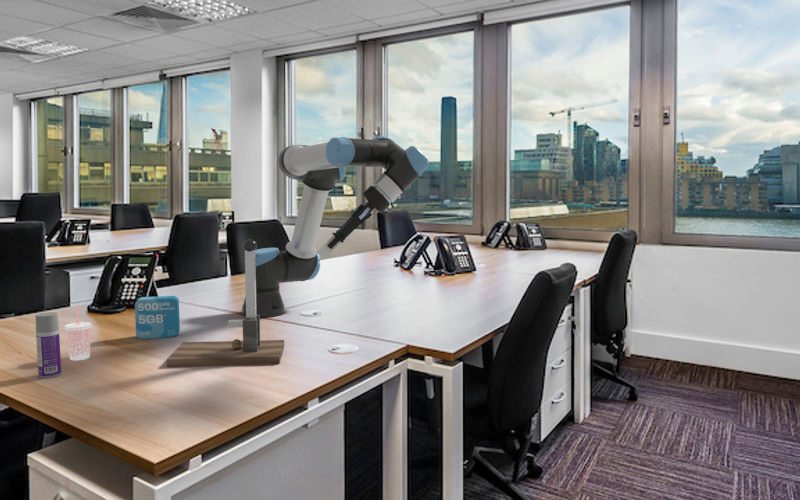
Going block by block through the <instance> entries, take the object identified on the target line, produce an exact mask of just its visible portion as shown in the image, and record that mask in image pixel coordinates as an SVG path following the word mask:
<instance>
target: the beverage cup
mask: <svg viewBox="0 0 800 500" xmlns="http://www.w3.org/2000/svg"><path fill="white" fill-rule="evenodd" d="M75 309H76V310H75V311H76V322H72V323H68V324H65V325H64V330H65V331H66V337H67V338H66V339H67V347H68V354H69V359H70V361H83V360H87V359H90V357H91V354H90V353H91V328H92V323H91V322H88V321H87V322H86V321H80V315H79V314H80V313H79V306H78V305H76V308H75Z"/></svg>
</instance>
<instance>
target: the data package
mask: <svg viewBox="0 0 800 500" xmlns="http://www.w3.org/2000/svg"><path fill="white" fill-rule="evenodd" d="M179 300H180V299H179V297H177V296H176V295H164V296H163V295H162V296H161V295H160V296H141V297H139V298H137V300H136V302H135V304H134V316H135V318H134V321H135V335H136V337H137V338H138V339H141V340H146V339H147V340H148V339H149V338H150V339H163V338H165V337H166V338H174V337H177V336H178V335H179V333H180V329H181V327H180V326H181V325H180V322H181V321H180V301H179Z"/></svg>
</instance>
